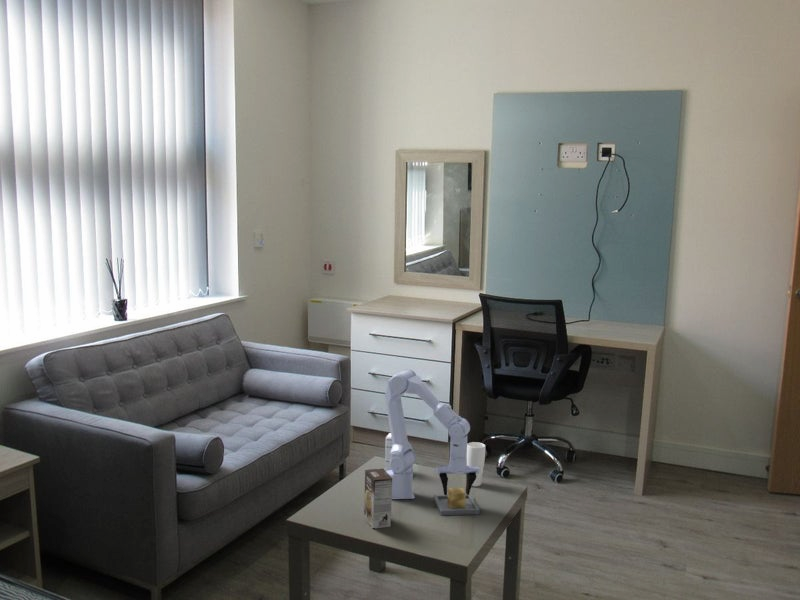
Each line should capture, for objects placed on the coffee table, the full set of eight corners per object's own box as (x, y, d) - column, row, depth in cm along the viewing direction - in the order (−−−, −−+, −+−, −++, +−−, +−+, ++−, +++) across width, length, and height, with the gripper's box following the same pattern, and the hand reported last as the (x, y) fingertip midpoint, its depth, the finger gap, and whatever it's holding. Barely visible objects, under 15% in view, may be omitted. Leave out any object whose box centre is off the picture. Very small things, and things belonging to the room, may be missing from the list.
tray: (440, 515, 235) (441, 510, 235) (433, 499, 248) (433, 495, 248) (479, 514, 237) (479, 509, 237) (470, 498, 250) (470, 494, 250)
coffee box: (363, 517, 232) (364, 469, 230) (381, 514, 234) (383, 467, 232) (372, 529, 223) (373, 479, 221) (391, 526, 225) (393, 477, 223)
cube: (450, 508, 239) (451, 494, 239) (447, 502, 244) (447, 488, 244) (465, 507, 240) (465, 493, 240) (461, 501, 245) (462, 487, 244)
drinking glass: (482, 488, 259) (485, 448, 257) (463, 486, 260) (466, 446, 258) (484, 482, 265) (486, 443, 263) (465, 480, 266) (467, 441, 265)
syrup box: (399, 475, 269) (400, 438, 267) (384, 473, 270) (385, 436, 268) (402, 470, 275) (403, 433, 273) (387, 468, 276) (388, 432, 274)
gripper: (439, 459, 235) (437, 499, 237) (482, 459, 237) (480, 498, 239) (435, 452, 242) (433, 490, 244) (476, 451, 244) (475, 490, 246)
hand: (456, 494), depth 242 cm, fingers open, 7 cm apart
